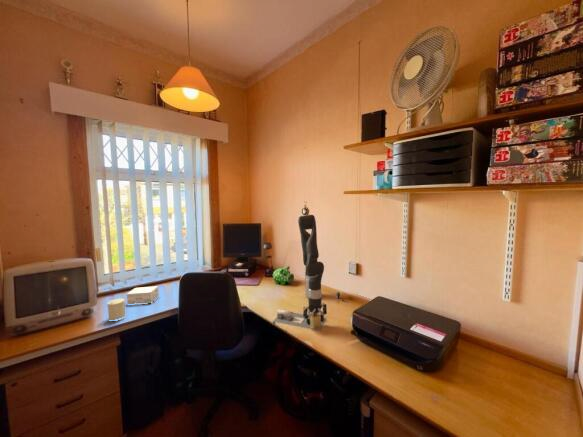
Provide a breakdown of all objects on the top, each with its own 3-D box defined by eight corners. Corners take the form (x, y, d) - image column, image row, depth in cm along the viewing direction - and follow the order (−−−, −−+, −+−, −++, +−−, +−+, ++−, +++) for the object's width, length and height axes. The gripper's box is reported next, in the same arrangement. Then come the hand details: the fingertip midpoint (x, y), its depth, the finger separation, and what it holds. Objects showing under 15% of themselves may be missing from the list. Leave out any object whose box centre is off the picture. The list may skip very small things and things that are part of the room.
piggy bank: (286, 287, 206) (286, 270, 205) (269, 284, 216) (269, 267, 215) (295, 282, 218) (295, 266, 217) (279, 279, 228) (278, 264, 227)
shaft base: (283, 311, 162) (283, 303, 161) (327, 319, 150) (327, 310, 150) (272, 323, 147) (272, 314, 146) (320, 332, 136) (320, 322, 135)
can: (105, 320, 154) (103, 302, 153) (119, 314, 162) (118, 297, 161) (114, 323, 150) (113, 304, 149) (129, 316, 159) (128, 298, 158)
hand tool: (357, 338, 130) (357, 330, 129) (350, 336, 132) (350, 328, 132) (369, 323, 145) (369, 316, 145) (362, 322, 147) (362, 314, 147)
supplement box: (159, 297, 190) (158, 285, 190) (151, 304, 177) (151, 292, 177) (136, 298, 188) (135, 287, 188) (127, 306, 175) (126, 293, 175)
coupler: (310, 325, 141) (310, 312, 141) (316, 323, 143) (316, 311, 143) (313, 329, 137) (313, 316, 137) (320, 327, 139) (320, 314, 139)
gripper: (322, 291, 145) (322, 317, 146) (301, 295, 140) (301, 322, 141) (329, 296, 138) (329, 323, 139) (306, 300, 133) (307, 328, 134)
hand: (315, 322), depth 140 cm, fingers open, 8 cm apart
